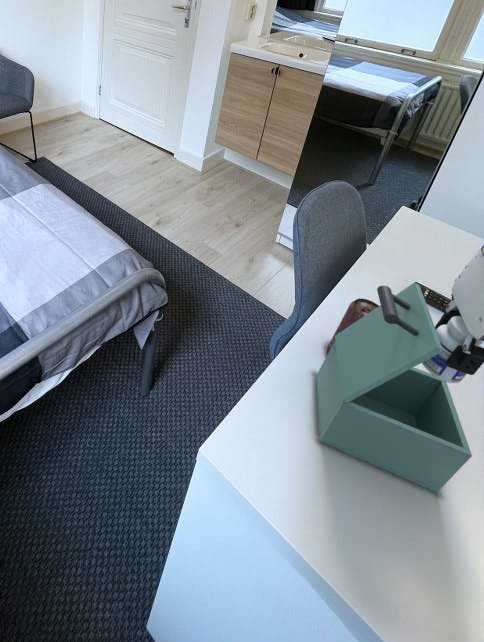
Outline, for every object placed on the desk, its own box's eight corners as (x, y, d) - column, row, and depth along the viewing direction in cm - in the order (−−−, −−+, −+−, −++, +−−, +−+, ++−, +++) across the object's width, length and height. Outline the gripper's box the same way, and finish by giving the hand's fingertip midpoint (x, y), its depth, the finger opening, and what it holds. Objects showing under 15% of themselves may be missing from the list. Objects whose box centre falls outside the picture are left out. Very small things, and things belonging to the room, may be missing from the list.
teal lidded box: (416, 416, 75) (445, 378, 70) (436, 493, 65) (472, 456, 60) (315, 376, 80) (335, 338, 75) (319, 441, 70) (343, 403, 65)
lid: (419, 285, 65) (386, 264, 66) (443, 351, 55) (404, 325, 56) (338, 338, 75) (310, 319, 76) (346, 403, 64) (313, 380, 65)
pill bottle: (455, 360, 64) (485, 321, 60) (466, 390, 60) (499, 350, 56) (415, 345, 66) (441, 306, 62) (422, 374, 62) (451, 334, 58)
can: (324, 361, 83) (350, 313, 77) (328, 339, 88) (353, 291, 81) (358, 379, 80) (389, 330, 74) (361, 355, 85) (389, 307, 78)
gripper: (601, 321, 45) (507, 418, 53) (527, 229, 59) (462, 317, 67) (514, 295, 47) (438, 392, 56) (463, 213, 61) (408, 300, 70)
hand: (452, 350), depth 61 cm, fingers closed on pill bottle, 5 cm apart
